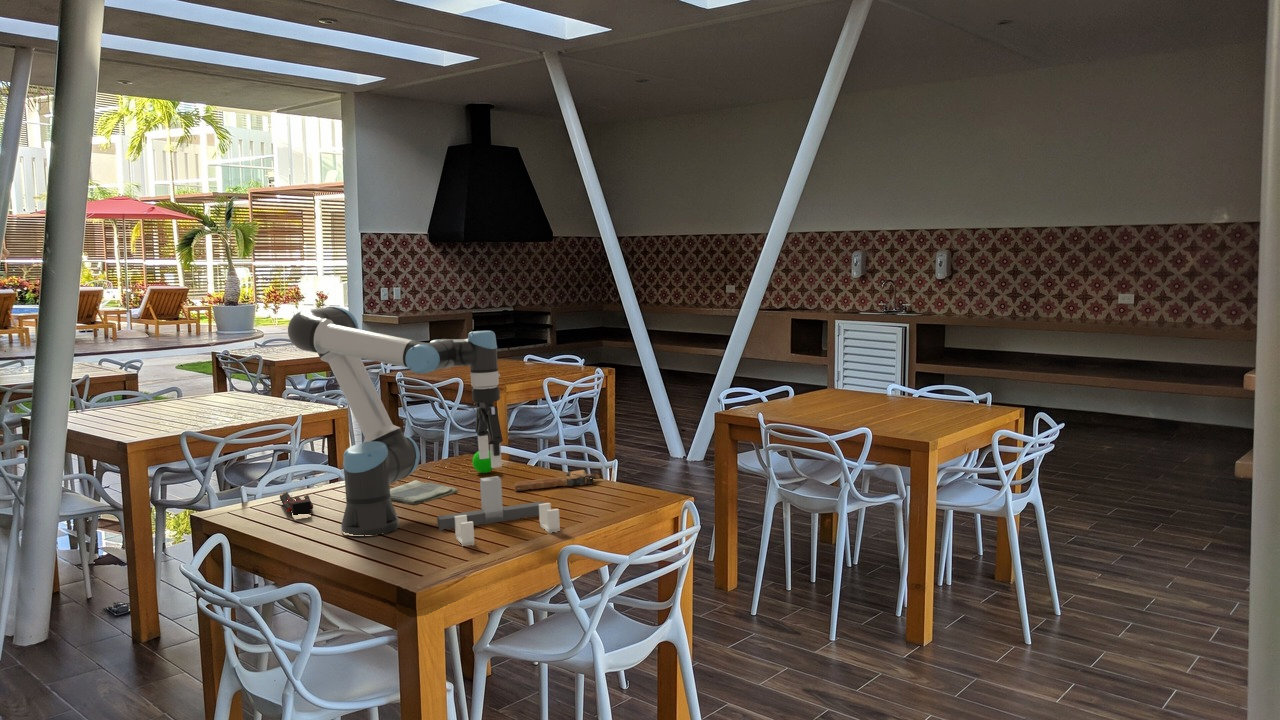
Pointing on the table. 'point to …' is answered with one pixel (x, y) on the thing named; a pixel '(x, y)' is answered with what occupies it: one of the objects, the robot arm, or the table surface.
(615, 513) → the table surface
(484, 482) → the bar
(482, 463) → the ornament
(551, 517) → the right clip
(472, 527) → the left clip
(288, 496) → the toy
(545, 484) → the decorative handgun
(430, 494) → the dish towel
